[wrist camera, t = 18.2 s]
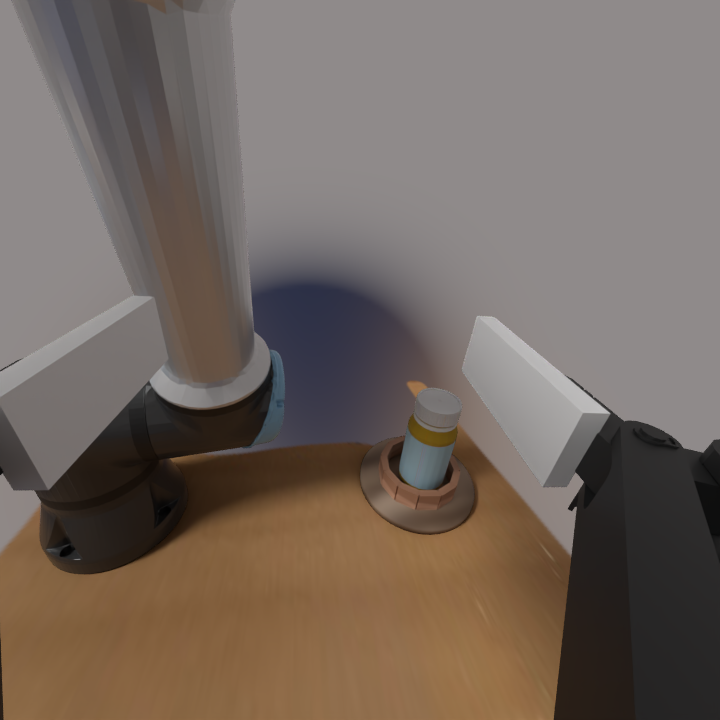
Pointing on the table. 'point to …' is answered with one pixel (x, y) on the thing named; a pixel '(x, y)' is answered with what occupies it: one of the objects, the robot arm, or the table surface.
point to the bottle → (430, 439)
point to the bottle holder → (414, 492)
